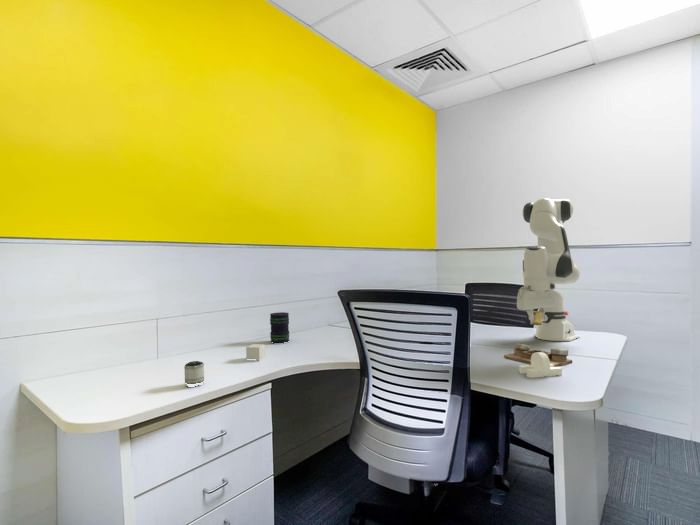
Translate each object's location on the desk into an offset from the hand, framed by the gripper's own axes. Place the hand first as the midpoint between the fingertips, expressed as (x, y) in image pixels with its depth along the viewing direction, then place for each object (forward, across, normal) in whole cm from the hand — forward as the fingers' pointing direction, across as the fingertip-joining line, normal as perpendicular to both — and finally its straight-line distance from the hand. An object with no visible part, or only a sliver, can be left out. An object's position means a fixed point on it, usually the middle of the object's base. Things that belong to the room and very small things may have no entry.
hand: (536, 319), depth 156 cm
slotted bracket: (+17, -16, -12) cm, 26 cm away
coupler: (+2, 0, 0) cm, 2 cm away
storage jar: (+17, -76, +96) cm, 124 cm away
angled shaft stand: (+17, +4, -7) cm, 18 cm away
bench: (+17, 0, 0) cm, 17 cm away
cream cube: (+17, -97, +67) cm, 119 cm away
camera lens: (+17, -125, +44) cm, 134 cm away
